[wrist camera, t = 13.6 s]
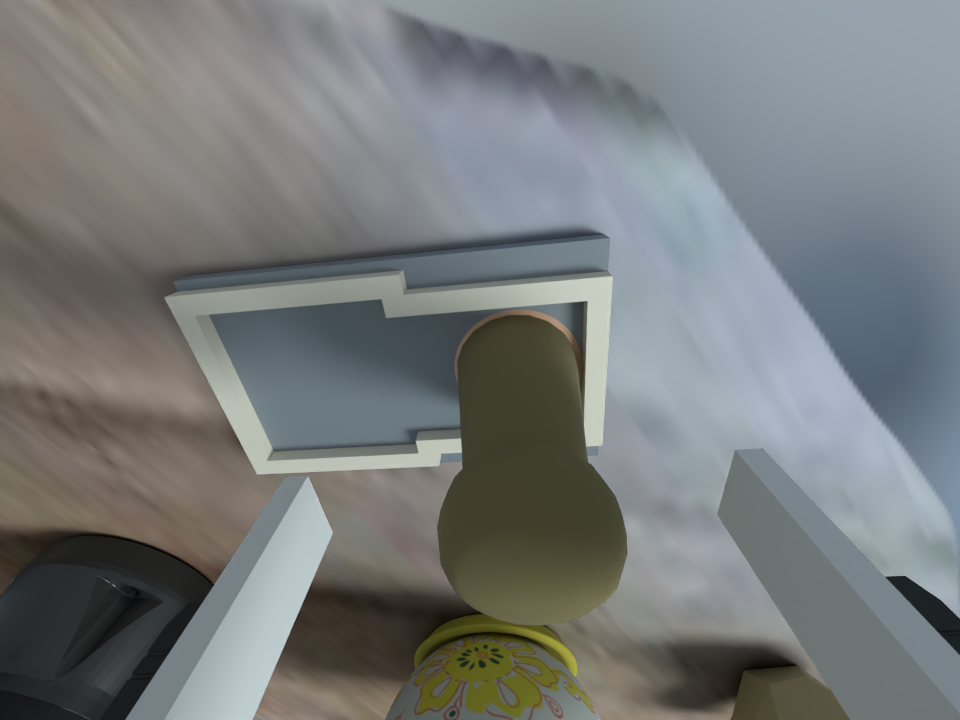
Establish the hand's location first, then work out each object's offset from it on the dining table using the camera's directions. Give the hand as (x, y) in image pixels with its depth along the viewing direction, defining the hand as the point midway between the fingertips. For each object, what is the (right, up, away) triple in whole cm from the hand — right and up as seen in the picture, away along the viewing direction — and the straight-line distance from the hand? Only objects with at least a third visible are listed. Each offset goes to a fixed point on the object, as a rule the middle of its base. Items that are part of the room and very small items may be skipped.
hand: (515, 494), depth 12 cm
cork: (+1, +4, +7) cm, 8 cm away
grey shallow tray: (-5, +4, +8) cm, 10 cm away
